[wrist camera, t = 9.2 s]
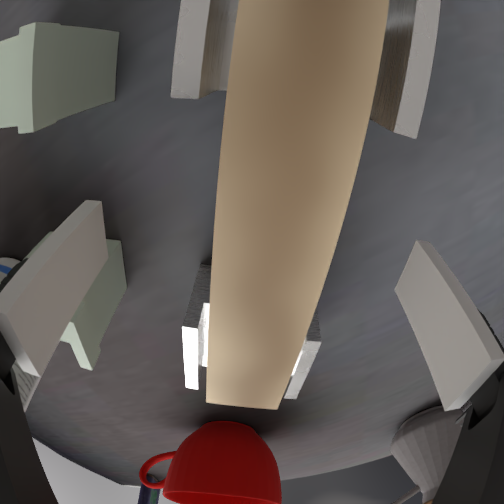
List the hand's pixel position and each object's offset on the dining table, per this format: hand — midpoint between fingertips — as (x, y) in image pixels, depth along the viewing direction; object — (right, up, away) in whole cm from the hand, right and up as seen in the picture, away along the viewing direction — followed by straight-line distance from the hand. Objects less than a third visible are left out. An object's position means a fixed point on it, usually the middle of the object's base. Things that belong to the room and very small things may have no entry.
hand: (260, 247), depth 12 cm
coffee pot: (+19, -24, +22) cm, 38 cm away
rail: (0, +1, +2) cm, 2 cm away
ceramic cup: (-5, -22, +22) cm, 32 cm away
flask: (-23, -51, +41) cm, 69 cm away
